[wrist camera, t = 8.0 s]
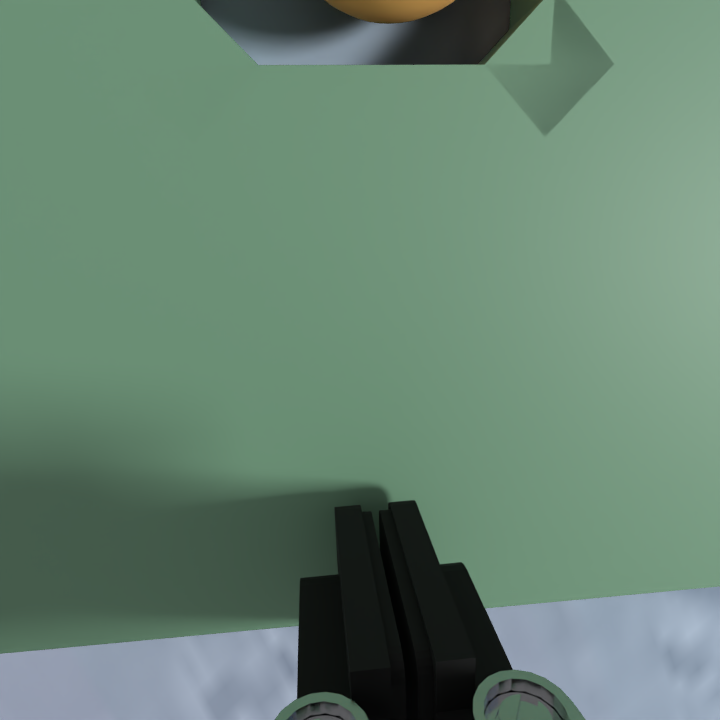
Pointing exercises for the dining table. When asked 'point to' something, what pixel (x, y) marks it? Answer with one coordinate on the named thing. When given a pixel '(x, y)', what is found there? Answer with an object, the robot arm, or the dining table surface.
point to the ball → (389, 9)
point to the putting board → (351, 313)
